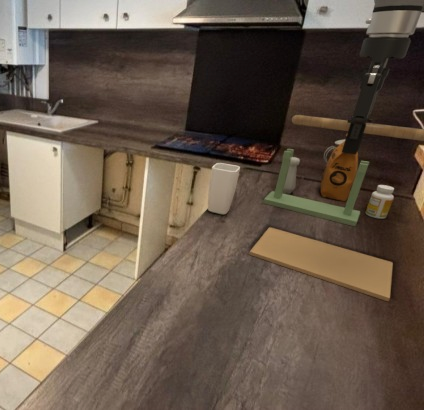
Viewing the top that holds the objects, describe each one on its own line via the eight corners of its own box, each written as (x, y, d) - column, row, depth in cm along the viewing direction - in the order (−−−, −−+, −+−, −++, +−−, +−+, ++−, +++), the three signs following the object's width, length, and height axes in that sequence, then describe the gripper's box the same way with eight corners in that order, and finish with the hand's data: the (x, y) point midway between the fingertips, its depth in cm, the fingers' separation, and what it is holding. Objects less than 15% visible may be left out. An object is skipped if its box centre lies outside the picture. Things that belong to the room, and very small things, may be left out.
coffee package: (314, 196, 128) (333, 135, 119) (319, 186, 137) (336, 129, 128) (348, 203, 123) (369, 140, 114) (350, 193, 132) (371, 133, 123)
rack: (358, 215, 113) (378, 161, 106) (355, 226, 106) (376, 168, 99) (271, 195, 128) (283, 145, 121) (263, 203, 121) (275, 151, 114)
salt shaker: (277, 187, 135) (285, 154, 130) (294, 190, 133) (303, 157, 127) (275, 192, 131) (284, 158, 125) (293, 195, 128) (302, 161, 123)
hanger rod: (435, 141, 72) (439, 130, 71) (435, 143, 70) (440, 132, 70) (291, 122, 87) (294, 113, 87) (289, 124, 86) (292, 114, 85)
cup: (203, 212, 114) (210, 167, 108) (209, 204, 119) (217, 162, 113) (226, 218, 110) (235, 172, 104) (232, 210, 116) (241, 166, 110)
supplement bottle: (384, 214, 115) (395, 186, 111) (387, 220, 110) (398, 191, 107) (364, 210, 117) (374, 182, 113) (365, 216, 113) (376, 187, 109)
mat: (391, 265, 87) (392, 262, 86) (388, 302, 74) (390, 298, 74) (268, 230, 103) (269, 227, 103) (248, 254, 91) (249, 251, 90)
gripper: (368, 38, 79) (335, 143, 88) (360, 35, 68) (324, 155, 78) (412, 38, 74) (373, 148, 84) (411, 35, 64) (366, 162, 73)
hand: (349, 151), depth 81 cm, fingers closed on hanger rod, 2 cm apart
